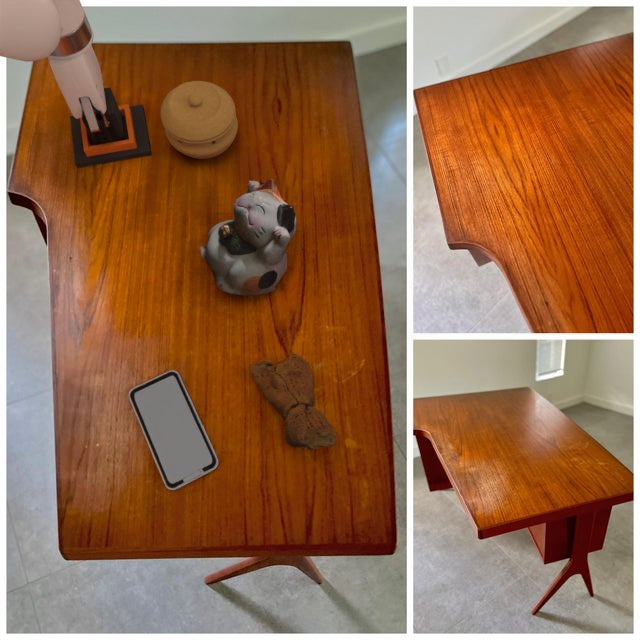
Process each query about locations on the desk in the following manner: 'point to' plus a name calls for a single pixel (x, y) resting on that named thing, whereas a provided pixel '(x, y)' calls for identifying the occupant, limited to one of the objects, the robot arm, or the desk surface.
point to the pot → (199, 119)
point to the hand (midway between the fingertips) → (106, 126)
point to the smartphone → (173, 430)
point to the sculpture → (294, 401)
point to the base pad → (113, 151)
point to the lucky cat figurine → (252, 242)
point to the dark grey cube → (108, 116)
